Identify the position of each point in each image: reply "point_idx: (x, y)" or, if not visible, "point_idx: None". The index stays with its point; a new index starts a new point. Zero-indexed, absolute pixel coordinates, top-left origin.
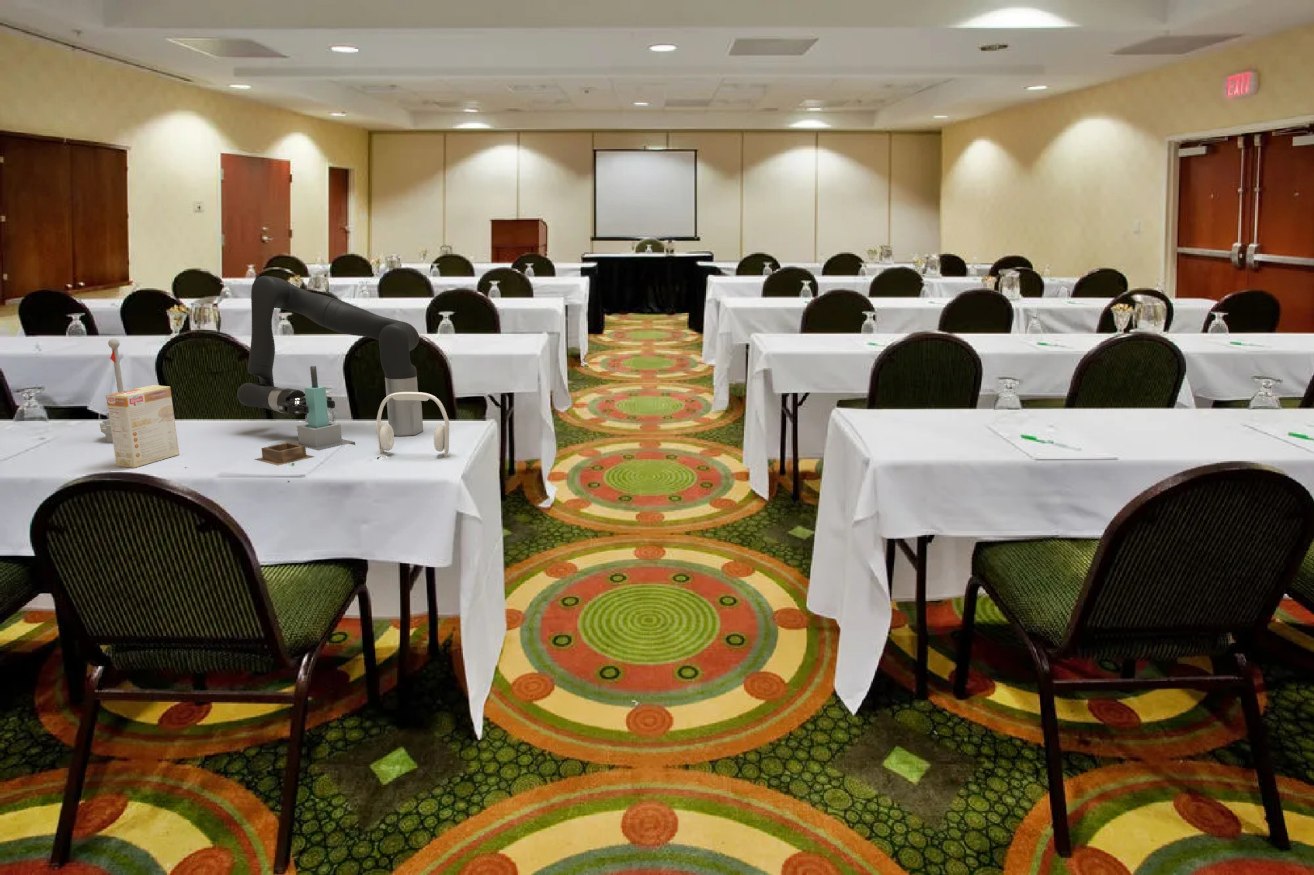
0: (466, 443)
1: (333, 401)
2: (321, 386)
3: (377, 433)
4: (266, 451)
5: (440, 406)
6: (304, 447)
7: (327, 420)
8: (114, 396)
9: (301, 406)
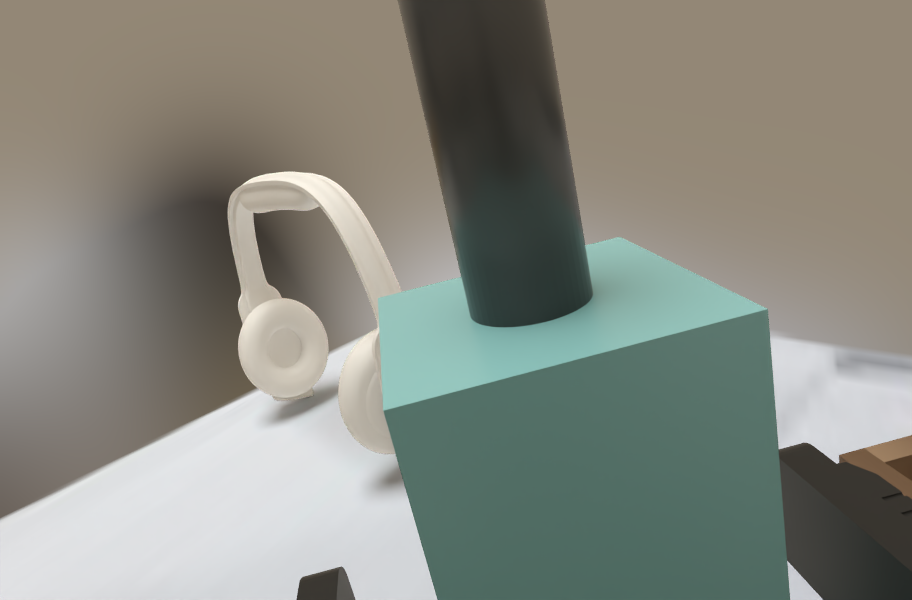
0: (101, 489)
1: (316, 576)
2: (384, 334)
3: None
4: None
5: (253, 228)
6: (846, 460)
7: None
8: None
9: (890, 522)
